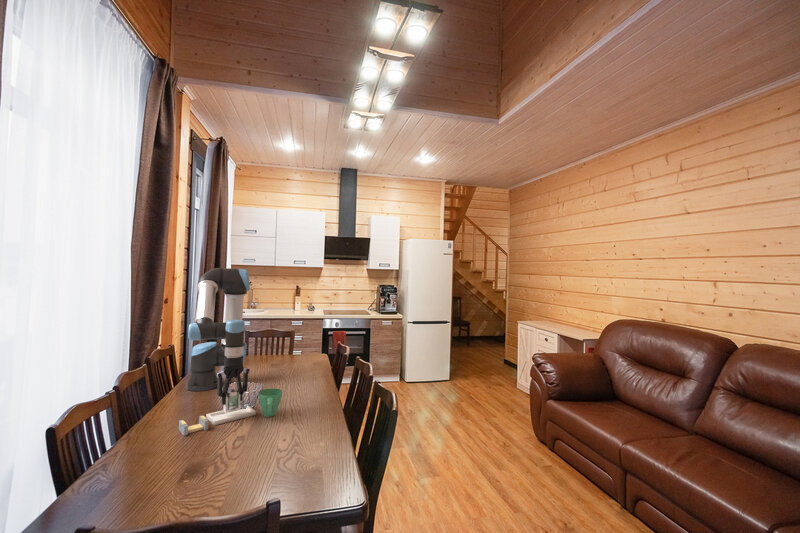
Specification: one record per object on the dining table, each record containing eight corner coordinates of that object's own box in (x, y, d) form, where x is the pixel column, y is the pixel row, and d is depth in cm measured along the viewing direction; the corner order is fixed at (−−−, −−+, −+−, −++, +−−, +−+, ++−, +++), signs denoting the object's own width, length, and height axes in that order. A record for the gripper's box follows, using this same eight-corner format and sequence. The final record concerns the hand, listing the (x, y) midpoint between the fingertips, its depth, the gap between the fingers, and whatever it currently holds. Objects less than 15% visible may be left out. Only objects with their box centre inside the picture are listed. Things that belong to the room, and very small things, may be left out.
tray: (206, 418, 153) (206, 414, 153) (246, 408, 165) (246, 404, 165) (214, 425, 146) (214, 421, 146) (255, 414, 158) (255, 411, 158)
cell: (224, 408, 155) (225, 389, 156) (235, 406, 159) (235, 387, 159) (228, 411, 152) (229, 392, 152) (239, 408, 155) (240, 390, 156)
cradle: (178, 429, 141) (179, 419, 141) (202, 424, 147) (202, 414, 147) (184, 435, 136) (184, 425, 136) (208, 429, 142) (208, 419, 142)
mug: (258, 411, 162) (259, 389, 162) (281, 409, 165) (281, 387, 165) (256, 424, 148) (257, 400, 148) (281, 422, 151) (282, 398, 151)
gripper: (215, 360, 147) (213, 418, 147) (257, 354, 160) (255, 407, 159) (209, 357, 153) (206, 412, 152) (250, 352, 165) (248, 403, 164)
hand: (231, 410), depth 155 cm, fingers closed on cell, 4 cm apart
